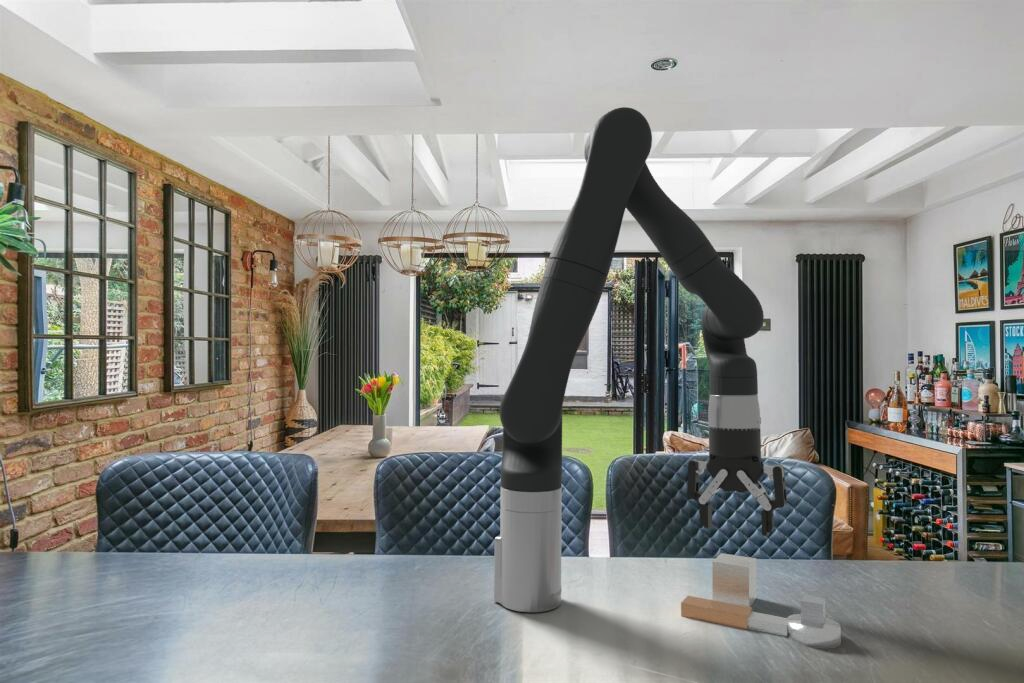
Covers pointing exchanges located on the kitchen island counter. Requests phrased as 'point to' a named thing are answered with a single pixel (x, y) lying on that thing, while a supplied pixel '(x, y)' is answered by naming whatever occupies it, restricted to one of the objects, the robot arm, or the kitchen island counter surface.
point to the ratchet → (771, 620)
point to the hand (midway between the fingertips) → (736, 531)
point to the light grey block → (734, 579)
